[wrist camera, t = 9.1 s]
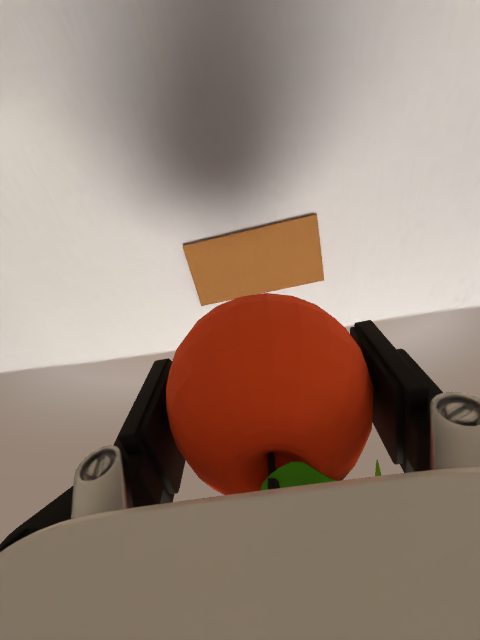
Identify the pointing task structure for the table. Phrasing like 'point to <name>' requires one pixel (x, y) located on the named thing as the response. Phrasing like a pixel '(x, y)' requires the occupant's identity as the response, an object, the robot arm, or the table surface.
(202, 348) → the clementine
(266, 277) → the cork mat
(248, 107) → the table surface
